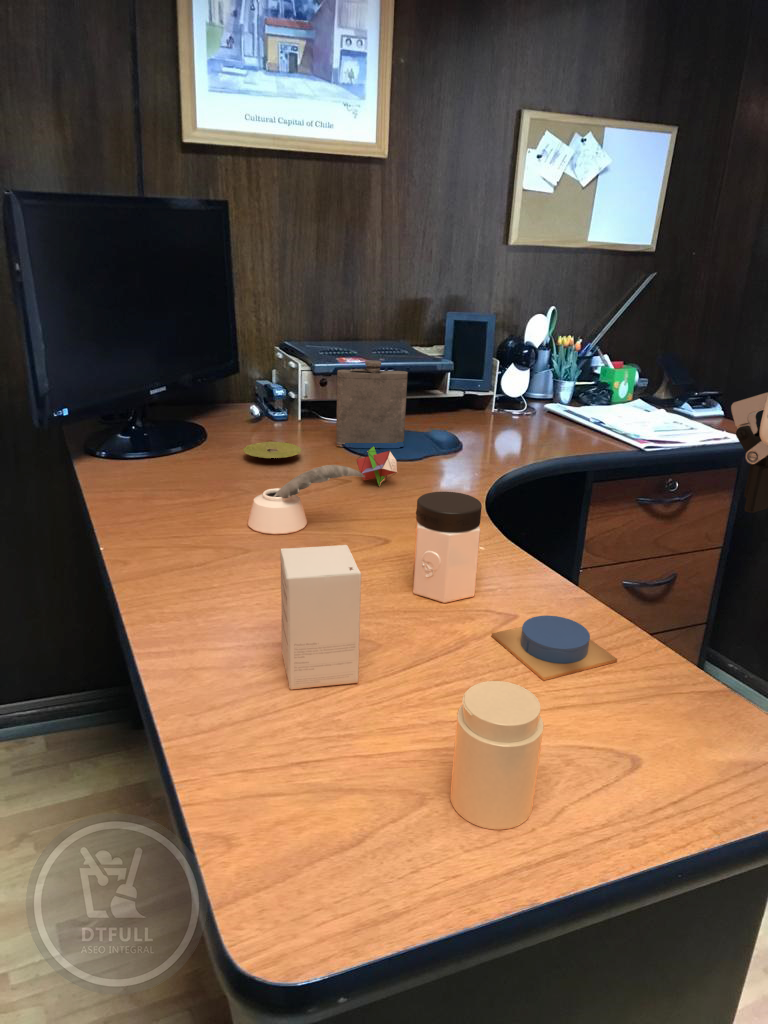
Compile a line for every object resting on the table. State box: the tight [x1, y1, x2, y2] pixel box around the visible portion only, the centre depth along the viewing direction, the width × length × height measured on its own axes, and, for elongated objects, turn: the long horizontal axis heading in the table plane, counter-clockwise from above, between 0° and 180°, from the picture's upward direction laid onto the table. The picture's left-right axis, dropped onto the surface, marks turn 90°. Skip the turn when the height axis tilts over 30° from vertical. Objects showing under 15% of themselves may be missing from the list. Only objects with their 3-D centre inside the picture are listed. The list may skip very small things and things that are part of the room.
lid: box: [521, 615, 591, 664], centre depth 87 cm, size 8×8×2 cm
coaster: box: [490, 626, 618, 682], centre depth 87 cm, size 10×10×1 cm
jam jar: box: [449, 680, 545, 831], centre depth 62 cm, size 7×7×10 cm
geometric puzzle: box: [355, 446, 398, 486], centre depth 139 cm, size 7×7×8 cm
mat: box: [242, 441, 302, 459], centre depth 151 cm, size 11×11×2 cm
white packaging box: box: [279, 544, 362, 691], centre depth 79 cm, size 7×7×13 cm
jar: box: [412, 491, 482, 604], centre depth 99 cm, size 9×8×12 cm
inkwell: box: [247, 464, 365, 535], centre depth 118 cm, size 9×18×10 cm, turn 92°
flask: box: [335, 359, 409, 445], centre depth 159 cm, size 4×14×18 cm, turn 96°
